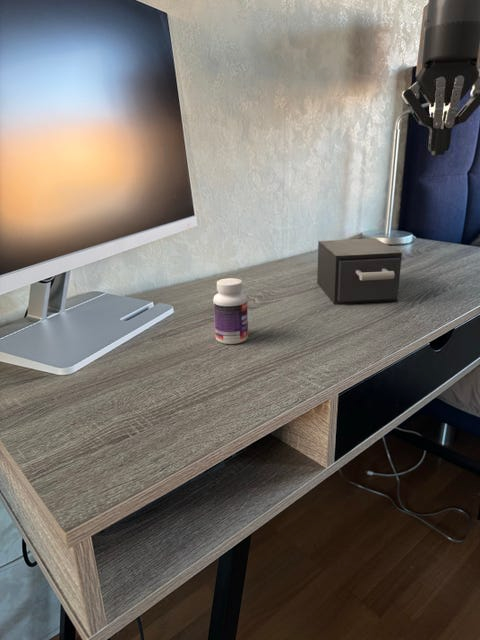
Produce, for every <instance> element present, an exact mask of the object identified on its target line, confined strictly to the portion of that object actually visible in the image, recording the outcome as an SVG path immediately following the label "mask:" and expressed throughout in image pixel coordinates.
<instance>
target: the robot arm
mask: <svg viewBox="0 0 480 640" xmlns="http://www.w3.org/2000/svg"><path fill="white" fill-rule="evenodd" d="M422 44H423V45H422V54H421V65H420V70H419V72H418V74H417V76H416V79H415V80H416V81H415V82H414V83H413V84H412V85H411V86H410V87H409V88H407V89H405V90H403V91H402V92H401V94H400V98H401V100H402V101H403V103H404V104H405V105H406V107H407V108H408V110H409V112H410V113H411V115H412V116H413V117H414V119H415V120H416V122H417V123H418V125H420V126H423V127H426V128H428V129H429V136H428V145H427V149H428V152H431V156H444V155H445V153H446V151H449V149H450V147H451V139H452V130H453V128H454V127H455V126H457V125H460V124H464V123H466V121H467V120H468V119H469V118H470V117H471V116H472V115H473V114H474V112H475V111H476V110H477V109H478V108H479V107H480V71H479V68H478V59H479V51H480V0H428V3H427V8H426V14H425V19H424V34H423V43H422ZM470 90H471V91H470ZM469 91H470V99H469V100H468V101H467V102H466V103H465V105H463V106H462V108H461V109H460V110H459V112H457V111H458V109H459V106H460V105H459V104H460V101H462V100H463V99H464V98H465V96H466V95H467V94H468V93H469ZM420 92H421V93H420ZM421 94H422V95H423V97H424V99H425V101H426V102H427V103H428V104H429V109H428V110H429V114H428V113H427V112H426V111H427V110H425V108H424V107H423V105H422V104H421V102H420V101H419V99H420V97H421Z"/></svg>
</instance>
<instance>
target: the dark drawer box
mask: <svg viewBox="0 0 480 640" xmlns="http://www.w3.org/2000/svg"><path fill="white" fill-rule="evenodd" d="M400 264H401V265H402V258H401V259H400V258H392V257H386V258H367V259H348V260H340V261H339V276H338V298H337V300H338V301H339V302H344V301H362V300H380V299H397V295H398V296H399V289H398V285H399V286H400V278H399V274H400V275H401V268H400ZM397 300H398V299H397Z"/></svg>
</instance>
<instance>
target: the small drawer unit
mask: <svg viewBox="0 0 480 640" xmlns="http://www.w3.org/2000/svg"><path fill="white" fill-rule="evenodd" d="M317 243H318V244H317V276H316V277H317V278H316V283H317V285H318V286H319V288H320V289H321V290H322V292H323V293H324V294H325V295H326V296H327V297H328V299H329V300H330V301H331V302H332V304H333V305H347V304H348V305H349V304H363V303H366V304H367V303H382V302H397V301H398V300H399V299H398V298H399V297H398V296H399V294H398V295H397V299H380V300H362V301H344V302H339V301H338V300H337V298H338V276H339V261H340V260H348V259H367V258H386V257H392V258H400V259H401V260H402V255H403V252H401V251H400V250H398V249H396V248H394V247H392V246H391V245H388V244H386V243H385V242H383V241H380V240H379V239H378V238H375V237H373V238H372V237H371V238H355V239H354V238H352V239H333V240H318V241H317ZM401 268H402V263H401V264H400V269H401ZM400 277H401V273H400V274H399V279H400ZM399 287H400V284H399V285H398V290H399V289H400V288H399Z"/></svg>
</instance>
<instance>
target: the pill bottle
mask: <svg viewBox="0 0 480 640" xmlns="http://www.w3.org/2000/svg"><path fill="white" fill-rule="evenodd" d="M242 291H243V280H241V279H240V278H234V277H233V278H232V277H229V278H222V279H219V280H217V281H216V292H218V293H216V294H215V295H214V296H213V299H212V300H213V303H212V304H213V317H214V320H213V321H214V334H215V339H216V341H217V342H219V343H221V344H224V345H236V344H241V343H243V342H245V341H246V340H247V339H248V338H249V320H248V319H249V318H248V317H249V316H248V297H247V294H245V293H244V292H242Z"/></svg>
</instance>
